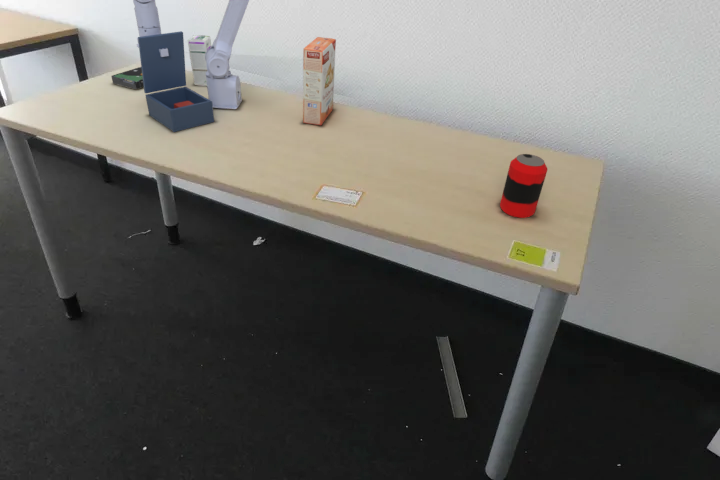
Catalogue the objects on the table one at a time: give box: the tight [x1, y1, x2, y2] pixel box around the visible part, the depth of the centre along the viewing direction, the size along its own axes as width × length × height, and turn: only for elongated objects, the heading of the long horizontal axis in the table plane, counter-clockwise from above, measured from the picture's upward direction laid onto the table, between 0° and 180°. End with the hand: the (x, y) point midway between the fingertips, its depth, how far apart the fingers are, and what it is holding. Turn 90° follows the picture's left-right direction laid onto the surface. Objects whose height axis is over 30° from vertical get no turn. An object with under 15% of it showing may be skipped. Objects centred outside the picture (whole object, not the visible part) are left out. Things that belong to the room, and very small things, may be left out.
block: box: [174, 101, 193, 109], centre depth 139 cm, size 4×4×4 cm
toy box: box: [145, 86, 215, 133], centre depth 141 cm, size 15×12×6 cm
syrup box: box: [187, 34, 212, 87], centre depth 164 cm, size 6×6×14 cm
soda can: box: [499, 153, 548, 219], centre depth 109 cm, size 8×8×12 cm
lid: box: [137, 31, 187, 94], centre depth 139 cm, size 15×12×1 cm
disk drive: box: [111, 66, 144, 90], centre depth 166 cm, size 10×3×15 cm
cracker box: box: [302, 36, 337, 126], centre depth 144 cm, size 14×6×21 cm, turn 168°
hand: (157, 76), depth 144 cm, fingers closed
